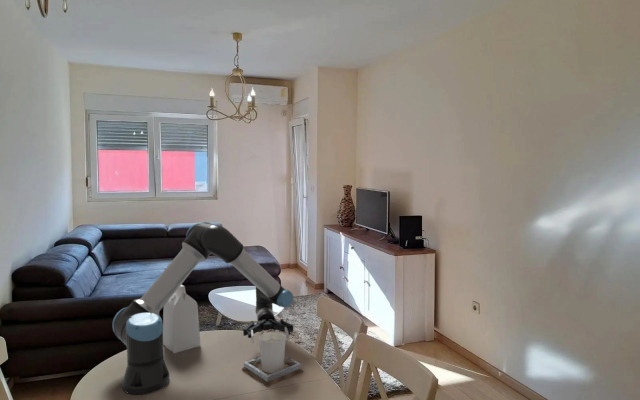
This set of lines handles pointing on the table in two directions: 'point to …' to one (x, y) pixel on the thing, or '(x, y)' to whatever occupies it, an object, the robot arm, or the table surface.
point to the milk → (181, 322)
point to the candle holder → (272, 351)
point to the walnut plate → (271, 373)
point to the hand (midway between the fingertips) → (270, 338)
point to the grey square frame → (294, 367)
